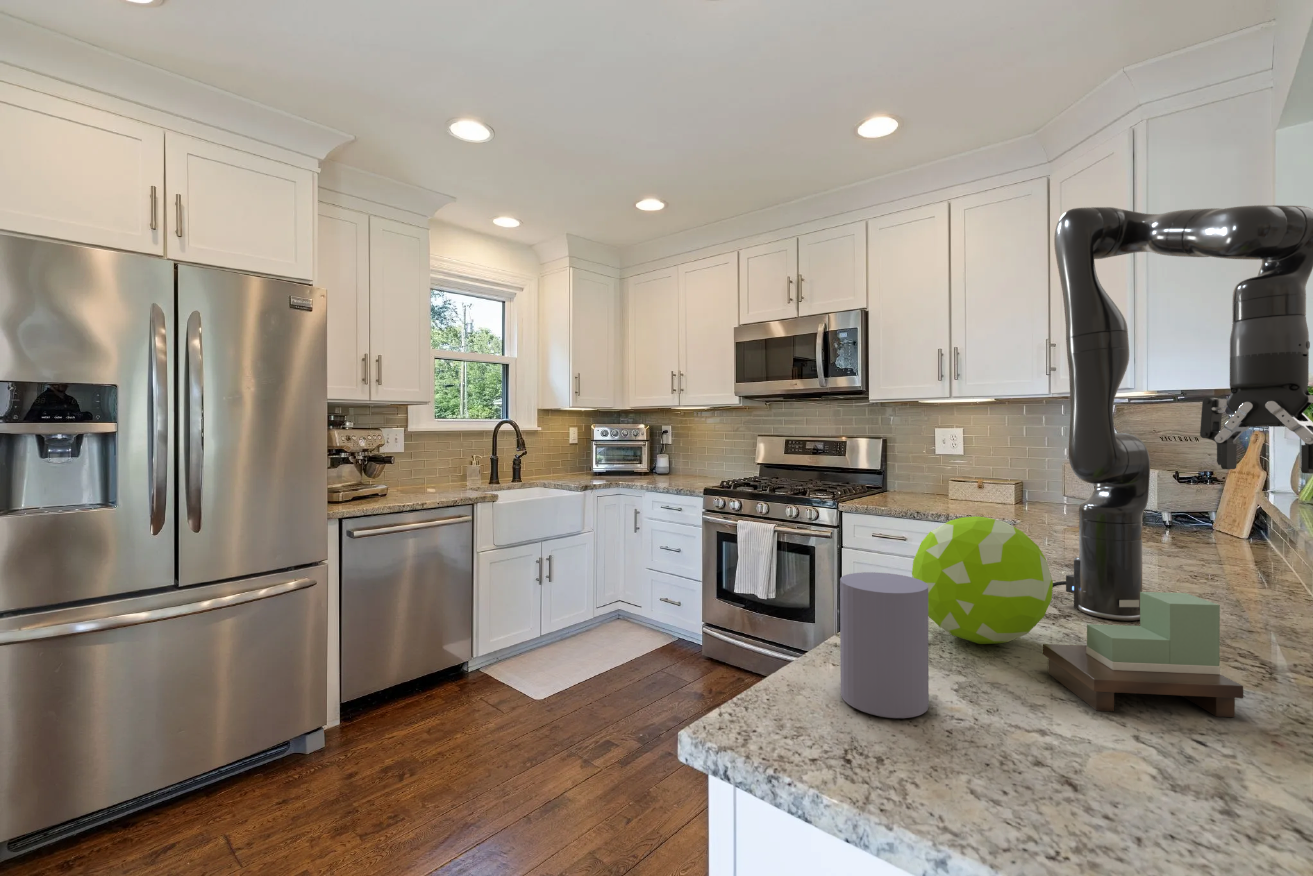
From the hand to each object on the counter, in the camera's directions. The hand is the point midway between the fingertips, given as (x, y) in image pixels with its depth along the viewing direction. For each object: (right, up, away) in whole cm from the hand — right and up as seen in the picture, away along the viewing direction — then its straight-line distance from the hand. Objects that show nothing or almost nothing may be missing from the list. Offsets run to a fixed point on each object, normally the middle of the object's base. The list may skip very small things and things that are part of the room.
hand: (1267, 471), depth 81 cm
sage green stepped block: (-21, -24, -6) cm, 33 cm away
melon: (-31, -28, +15) cm, 45 cm away
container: (-55, -29, -7) cm, 63 cm away
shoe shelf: (-23, -28, -5) cm, 37 cm away
